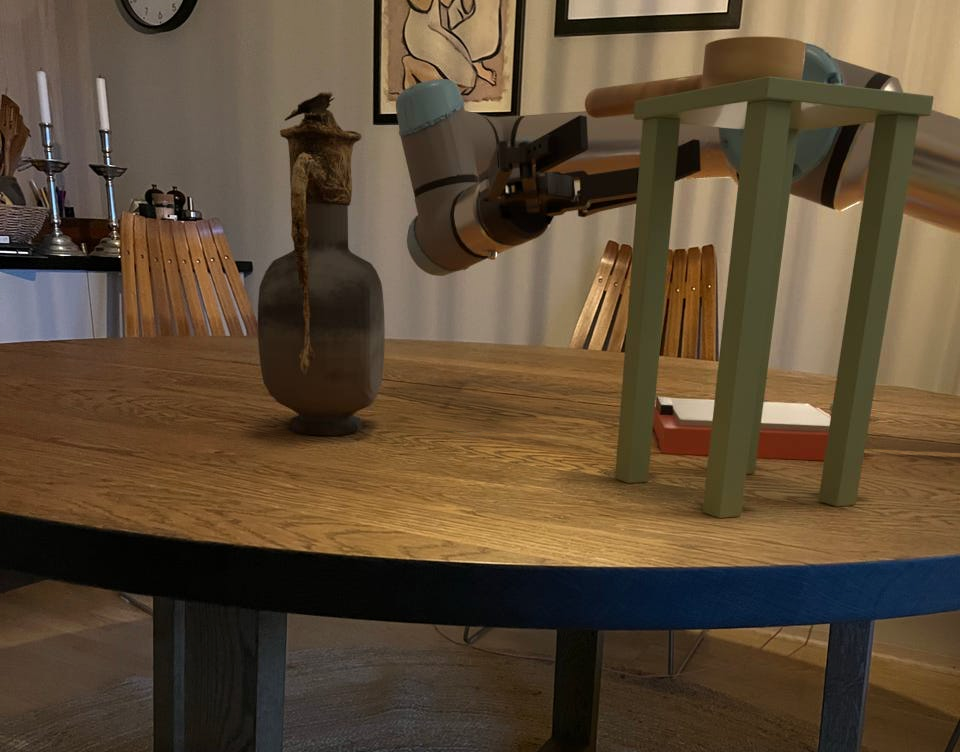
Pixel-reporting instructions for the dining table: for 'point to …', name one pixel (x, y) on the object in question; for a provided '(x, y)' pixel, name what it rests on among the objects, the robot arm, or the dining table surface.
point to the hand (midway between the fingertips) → (643, 144)
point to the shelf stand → (764, 269)
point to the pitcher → (321, 289)
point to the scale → (780, 436)
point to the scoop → (709, 72)
